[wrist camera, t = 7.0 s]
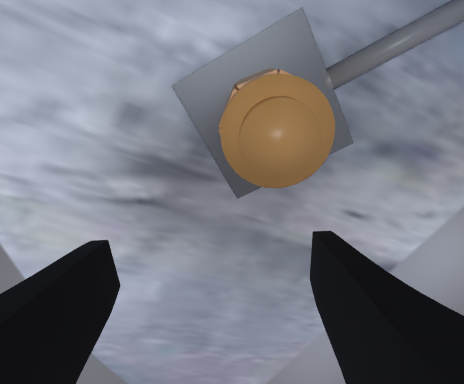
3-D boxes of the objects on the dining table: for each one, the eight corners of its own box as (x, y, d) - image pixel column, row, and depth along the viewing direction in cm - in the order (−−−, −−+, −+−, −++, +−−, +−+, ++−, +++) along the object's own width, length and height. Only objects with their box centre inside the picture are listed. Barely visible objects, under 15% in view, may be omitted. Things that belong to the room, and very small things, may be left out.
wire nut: (293, 57, 16) (326, 52, 10) (315, 139, 17) (354, 174, 12) (212, 91, 16) (199, 105, 11) (241, 166, 18) (244, 212, 12)
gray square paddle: (508, -116, 13) (629, -197, 9) (527, 51, 16) (627, 46, 12) (174, 84, 17) (155, 90, 13) (237, 192, 20) (237, 225, 16)
